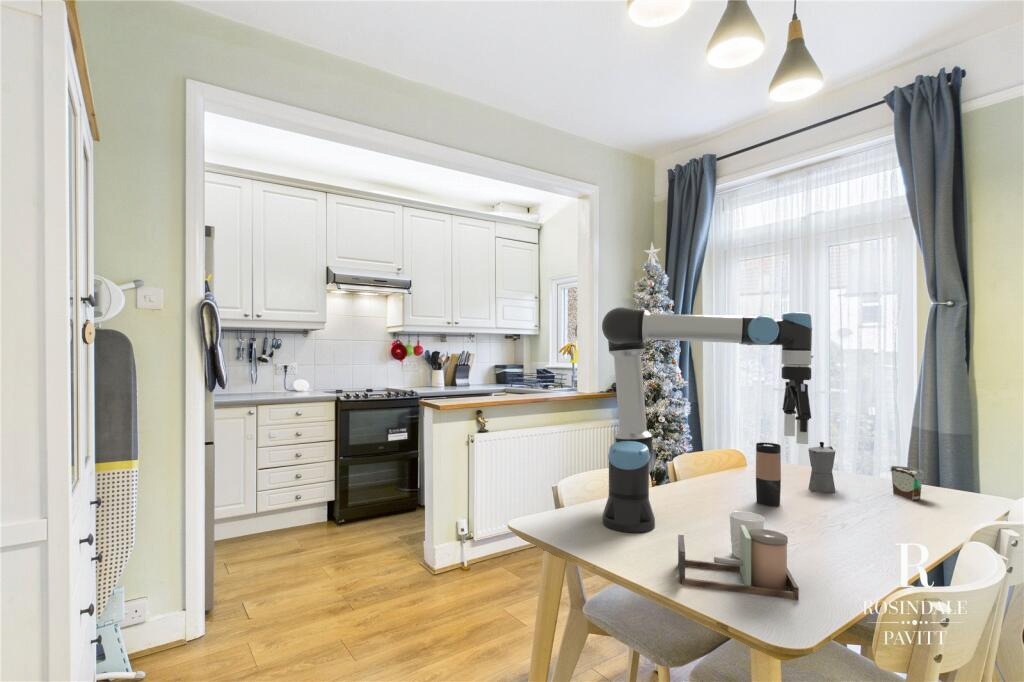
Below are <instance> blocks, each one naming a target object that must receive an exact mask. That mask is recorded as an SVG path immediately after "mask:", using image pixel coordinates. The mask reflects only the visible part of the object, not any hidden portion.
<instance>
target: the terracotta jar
mask: <svg viewBox="0 0 1024 682" xmlns="http://www.w3.org/2000/svg"><path fill="white" fill-rule="evenodd" d="M748 533H749V535H750V537H751V586H753V587H761V588H768V589H776V590H784V591H788V590H787V589H788V586H787V568H788V544H789V541H788V540H789V539H788V536H787V535H785V534H784V533H781V532H779V531H776V530H770V529H765V528H764V529H753V530H750V531H749V532H748Z"/></svg>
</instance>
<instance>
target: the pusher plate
mask: <svg viewBox="0 0 1024 682" xmlns="http://www.w3.org/2000/svg"><path fill="white" fill-rule="evenodd" d="M713 563H721V564H729V565H737V566H740V572H739V573H740V576H741V578H742V581H743V585H745V586H752V585H751V537H750V535H749V533H748V531H747V529H746V526H745V525H740V559H736V558H735V559H734V558H727V557H716V556H715V557H713Z"/></svg>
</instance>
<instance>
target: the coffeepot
mask: <svg viewBox="0 0 1024 682" xmlns="http://www.w3.org/2000/svg"><path fill="white" fill-rule="evenodd" d="M819 445H820V446H814V447H813V446H812V447H808V457H809V461H810V462H809V463H810V467H811V473H810V478H809V482H808V483H809V484H808V490H810V491H812V492H817V493H824V494H834V493H836V486H835V481H834V473H833V469H834V465H835V464H834V463H835V457H836V452H837V451H836V450H835V449H834V448H833V446H831V445H830V446H825V442H824V441H819Z"/></svg>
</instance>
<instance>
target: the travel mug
mask: <svg viewBox="0 0 1024 682" xmlns="http://www.w3.org/2000/svg"><path fill="white" fill-rule="evenodd" d="M755 447H756V448H755V493H756V494H755V495H756V504H759V505H761V506H765V507H779V506H781V488H782V487H781V486H782V485H781V482H782V467H781V466H782V464H781V463H782V462H781V461H782V460H781V459H782V457H781V455H782V454H781V451H782V450H781V449H782V448H781V444H779V443H773V442H756V444H755Z"/></svg>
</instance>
